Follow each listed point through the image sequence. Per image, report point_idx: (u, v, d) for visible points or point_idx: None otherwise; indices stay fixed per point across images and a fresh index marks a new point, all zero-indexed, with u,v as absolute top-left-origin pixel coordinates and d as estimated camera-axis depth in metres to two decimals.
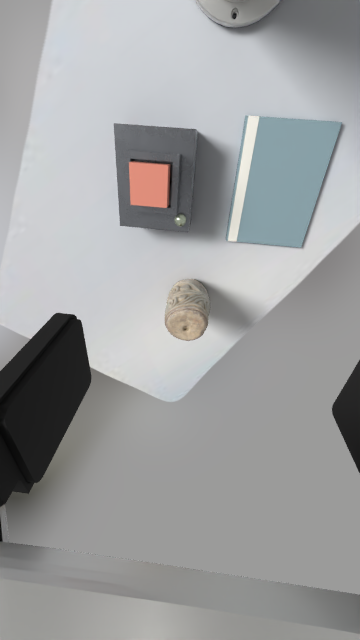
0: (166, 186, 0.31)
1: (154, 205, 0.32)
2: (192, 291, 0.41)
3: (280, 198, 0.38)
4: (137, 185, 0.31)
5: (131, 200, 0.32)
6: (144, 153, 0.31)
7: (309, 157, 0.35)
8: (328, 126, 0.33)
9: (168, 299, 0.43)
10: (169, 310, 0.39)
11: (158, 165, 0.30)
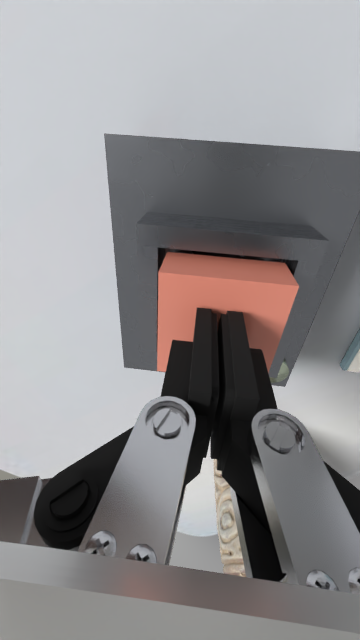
0: (277, 338, 0.10)
1: None
2: None
3: None
4: (182, 330, 0.10)
5: (160, 362, 0.11)
6: (206, 234, 0.09)
7: None
8: None
9: (220, 481, 0.21)
10: (236, 554, 0.17)
11: (262, 284, 0.09)
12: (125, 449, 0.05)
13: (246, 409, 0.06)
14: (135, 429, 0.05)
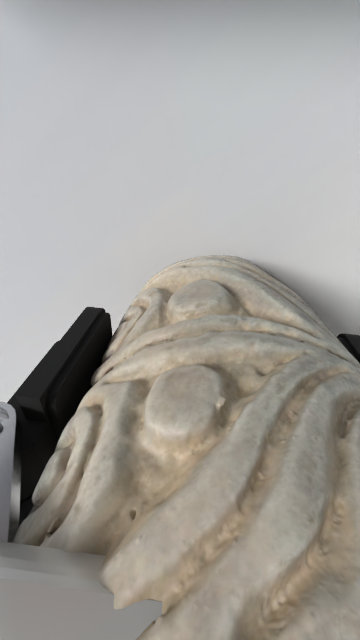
0: None
1: None
2: (261, 333, 0.05)
3: None
4: None
5: None
6: None
7: None
8: None
9: (95, 373, 0.07)
10: None
11: None
12: None
13: None
14: None
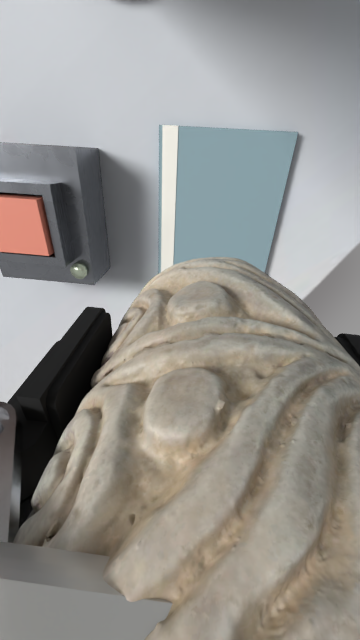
0: (41, 228, 0.22)
1: (31, 252, 0.23)
2: (261, 336, 0.05)
3: (223, 236, 0.27)
4: (2, 226, 0.22)
5: None
6: None
7: (256, 182, 0.24)
8: (279, 138, 0.23)
9: (94, 375, 0.07)
10: None
11: (23, 200, 0.21)
12: None
13: None
14: None
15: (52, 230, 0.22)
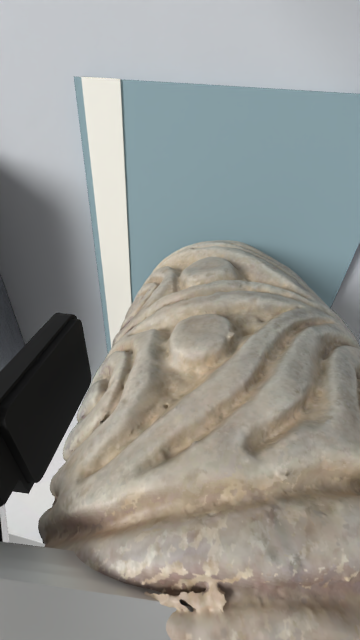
0: None
1: None
2: (262, 293, 0.06)
3: None
4: None
5: None
6: None
7: (303, 216, 0.11)
8: None
9: (117, 335, 0.08)
10: (61, 502, 0.03)
11: None
12: None
13: None
14: None
15: None
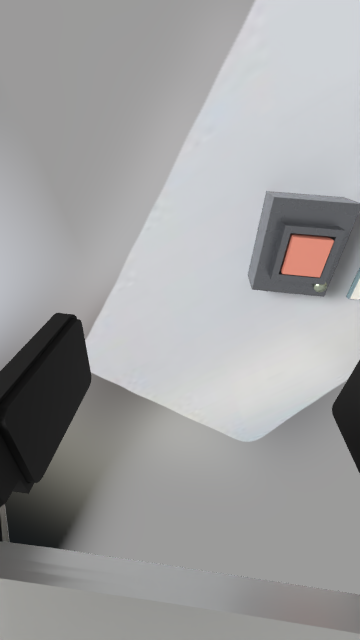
0: (326, 258, 0.31)
1: (307, 275, 0.32)
2: None
3: None
4: (295, 257, 0.31)
5: (284, 270, 0.32)
6: (307, 228, 0.30)
7: None
8: None
9: None
10: None
11: (323, 240, 0.30)
12: None
13: None
14: None
15: (329, 260, 0.32)
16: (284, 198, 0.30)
